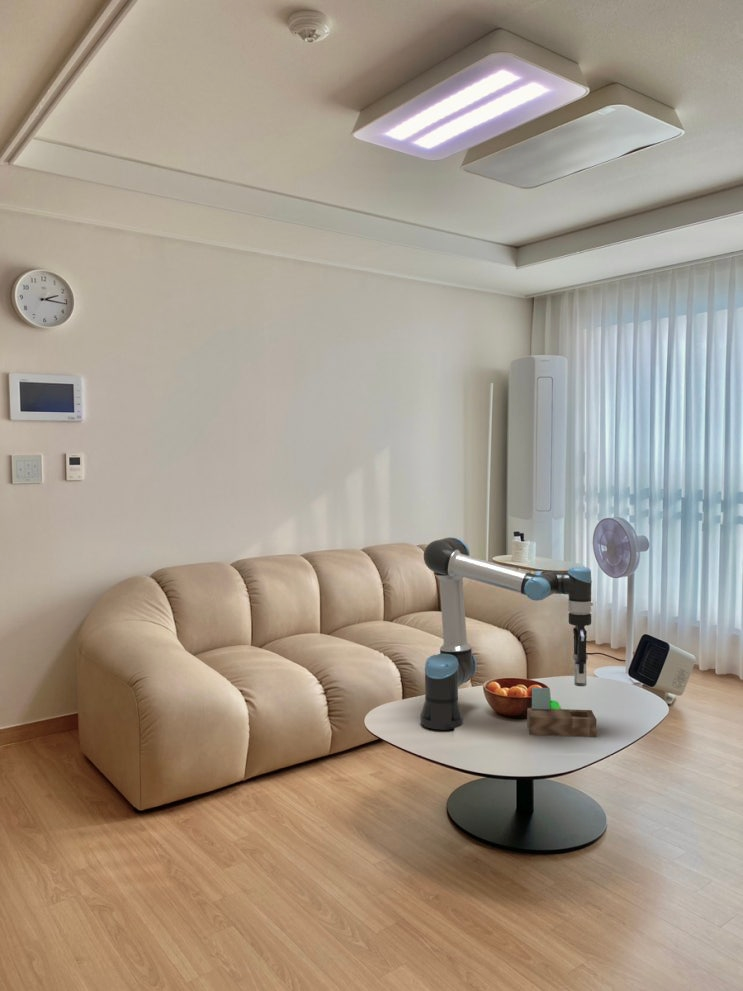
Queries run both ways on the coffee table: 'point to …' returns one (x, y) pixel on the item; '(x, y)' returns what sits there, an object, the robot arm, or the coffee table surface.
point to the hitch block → (561, 722)
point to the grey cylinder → (576, 672)
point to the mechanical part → (554, 704)
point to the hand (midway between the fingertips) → (579, 680)
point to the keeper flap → (540, 699)
